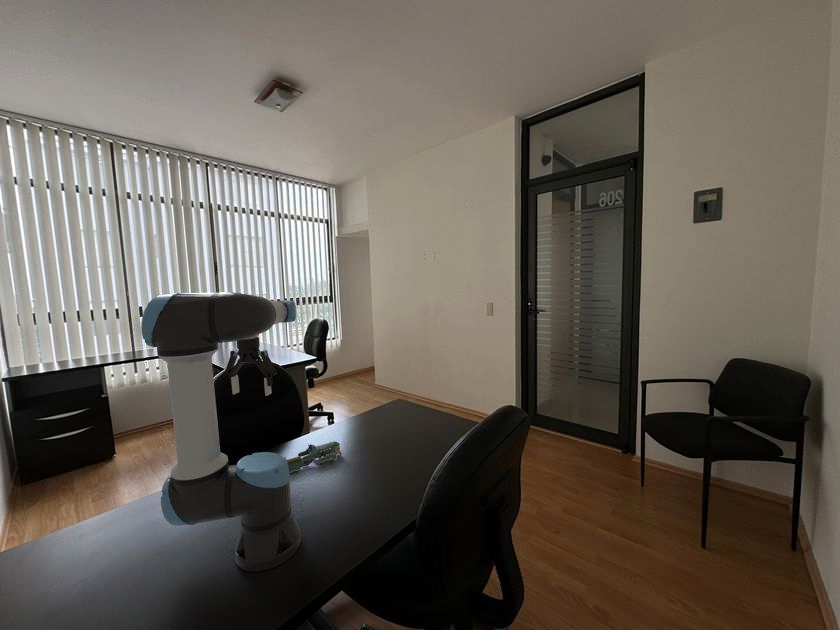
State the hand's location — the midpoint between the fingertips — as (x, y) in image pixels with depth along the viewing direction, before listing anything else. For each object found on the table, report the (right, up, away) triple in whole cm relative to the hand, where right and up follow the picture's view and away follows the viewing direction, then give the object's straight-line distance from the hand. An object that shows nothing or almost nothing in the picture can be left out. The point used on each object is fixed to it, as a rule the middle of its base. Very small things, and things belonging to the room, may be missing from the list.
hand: (252, 393), depth 131 cm
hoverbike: (+22, -26, -3) cm, 34 cm away
